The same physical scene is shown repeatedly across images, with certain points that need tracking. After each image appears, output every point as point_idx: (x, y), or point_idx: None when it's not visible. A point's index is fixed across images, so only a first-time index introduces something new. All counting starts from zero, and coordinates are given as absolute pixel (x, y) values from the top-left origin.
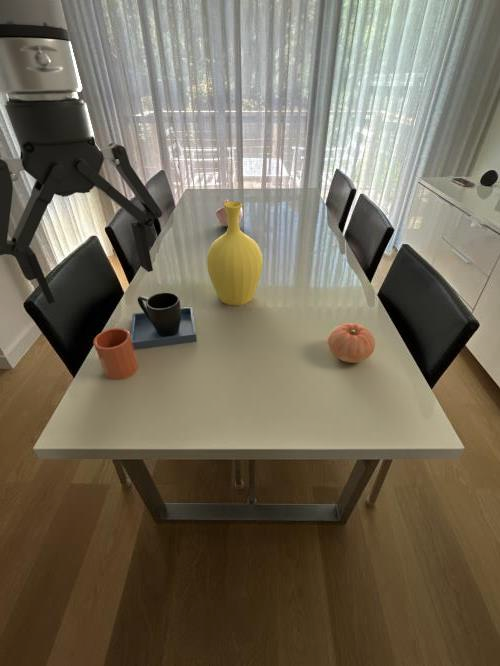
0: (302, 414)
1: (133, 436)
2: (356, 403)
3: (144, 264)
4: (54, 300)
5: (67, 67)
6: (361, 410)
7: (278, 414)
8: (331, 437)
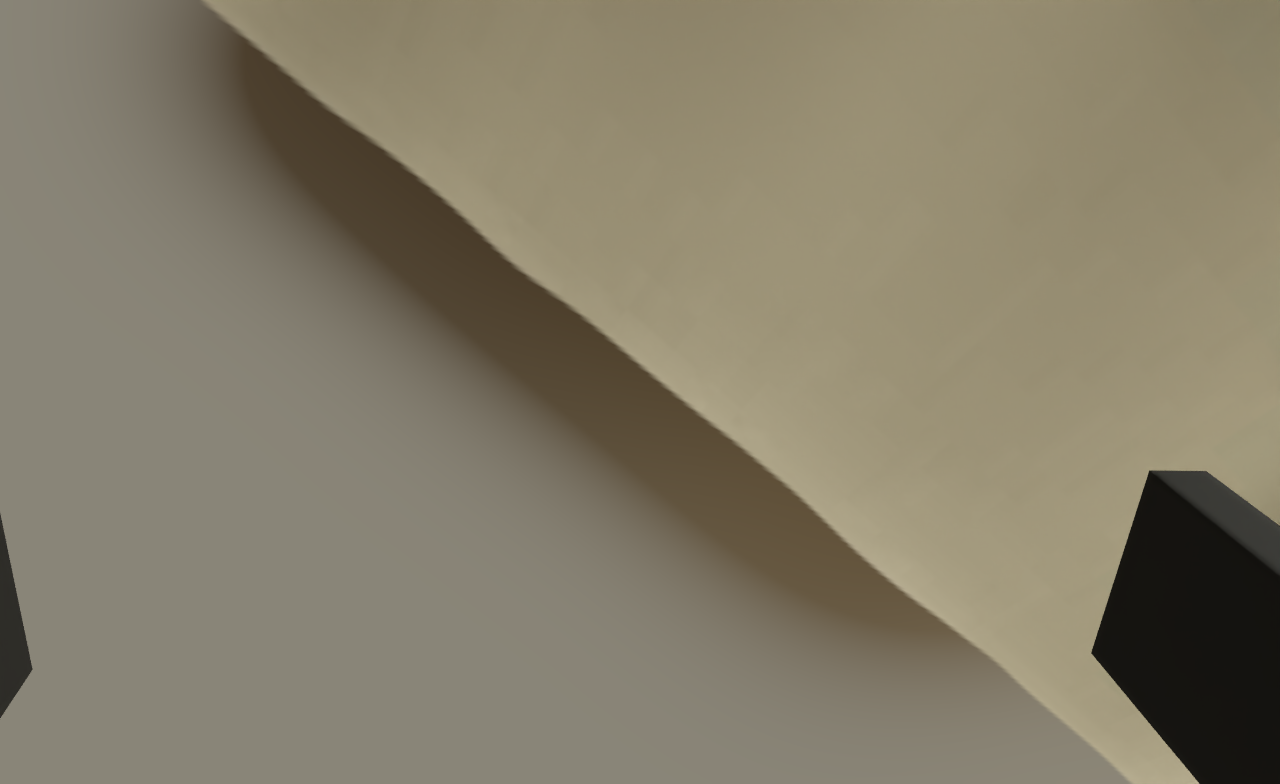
0: (1028, 506)
1: (465, 145)
2: None
3: (1149, 639)
4: (24, 676)
5: None
6: None
7: (972, 452)
8: (1002, 622)
